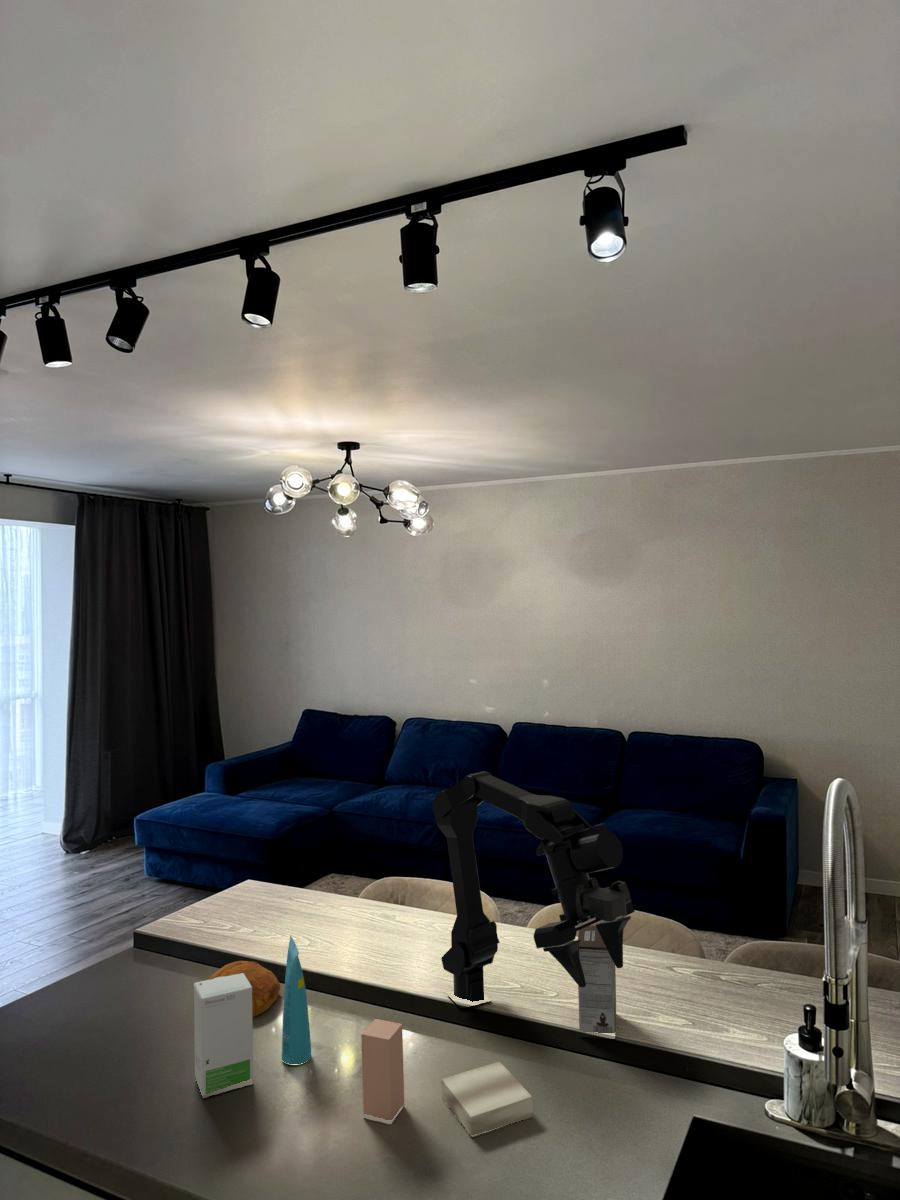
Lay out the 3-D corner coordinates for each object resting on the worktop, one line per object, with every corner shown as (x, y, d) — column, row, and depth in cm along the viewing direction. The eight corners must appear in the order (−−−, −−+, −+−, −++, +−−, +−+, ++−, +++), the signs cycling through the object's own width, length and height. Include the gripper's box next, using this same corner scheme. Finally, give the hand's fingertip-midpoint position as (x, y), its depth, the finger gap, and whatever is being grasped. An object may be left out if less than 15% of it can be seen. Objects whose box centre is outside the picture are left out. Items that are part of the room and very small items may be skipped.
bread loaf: (185, 1028, 149) (179, 988, 148) (237, 978, 164) (231, 941, 163) (250, 1040, 144) (244, 999, 143) (297, 988, 158) (292, 950, 157)
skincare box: (201, 1101, 124) (198, 1000, 124) (193, 1078, 130) (191, 982, 129) (256, 1084, 128) (253, 986, 127) (246, 1063, 133) (243, 969, 133)
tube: (317, 1065, 132) (313, 949, 132) (287, 1074, 130) (284, 955, 130) (304, 1043, 139) (301, 932, 139) (276, 1051, 137) (273, 938, 137)
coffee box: (580, 1011, 147) (578, 923, 147) (616, 1013, 146) (614, 925, 146) (578, 1038, 138) (576, 945, 138) (616, 1041, 137) (614, 947, 137)
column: (377, 1100, 123) (375, 1018, 123) (404, 1106, 121) (402, 1024, 121) (363, 1118, 119) (361, 1034, 118) (391, 1125, 117) (388, 1039, 117)
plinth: (442, 1098, 123) (441, 1079, 123) (499, 1080, 127) (499, 1061, 127) (471, 1138, 114) (470, 1117, 114) (532, 1116, 118) (532, 1096, 118)
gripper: (567, 884, 121) (601, 995, 116) (642, 855, 133) (676, 954, 128) (518, 894, 128) (549, 998, 124) (594, 866, 141) (624, 960, 136)
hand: (602, 977), depth 128 cm, fingers open, 9 cm apart
